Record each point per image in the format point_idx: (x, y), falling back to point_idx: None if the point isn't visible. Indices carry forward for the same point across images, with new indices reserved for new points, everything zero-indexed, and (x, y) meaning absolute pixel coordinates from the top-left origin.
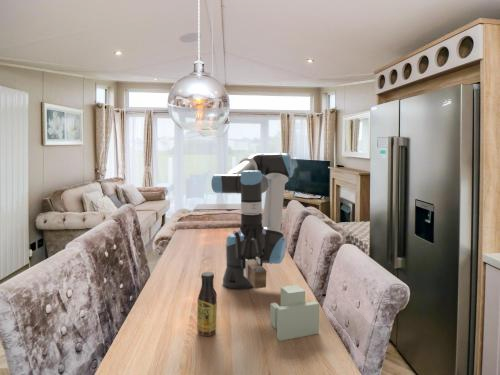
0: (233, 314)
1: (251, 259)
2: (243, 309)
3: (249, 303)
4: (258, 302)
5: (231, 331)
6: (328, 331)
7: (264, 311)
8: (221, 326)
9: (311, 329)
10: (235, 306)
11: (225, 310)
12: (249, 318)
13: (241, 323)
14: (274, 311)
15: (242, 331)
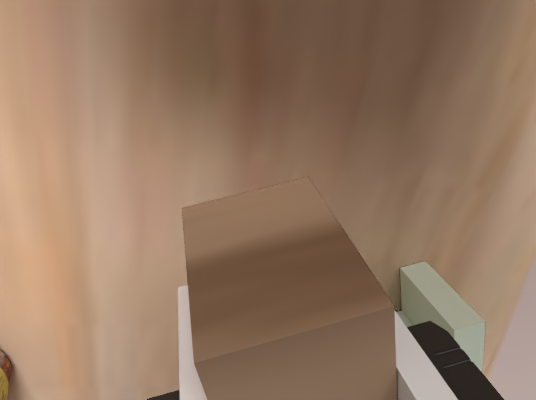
0: (104, 185)
1: (346, 326)
2: (174, 121)
3: (227, 26)
4: (293, 20)
5: (96, 357)
6: (487, 359)
7: (298, 166)
8: (38, 314)
9: None
10: (118, 63)
11: (44, 120)
12: None
13: (149, 289)
14: None
15: (150, 357)
